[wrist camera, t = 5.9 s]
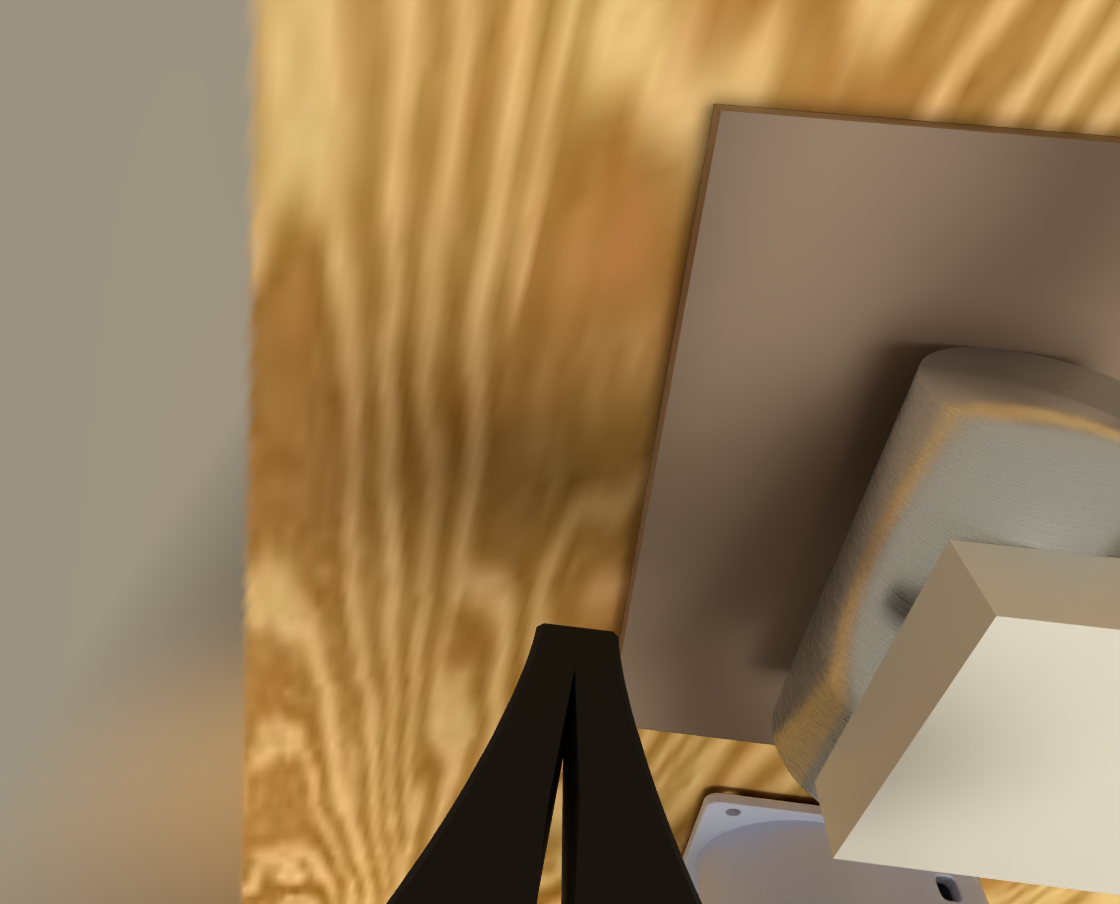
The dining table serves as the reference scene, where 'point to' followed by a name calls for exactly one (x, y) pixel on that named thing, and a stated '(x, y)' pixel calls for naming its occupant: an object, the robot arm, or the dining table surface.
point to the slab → (991, 727)
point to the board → (834, 364)
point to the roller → (953, 515)
